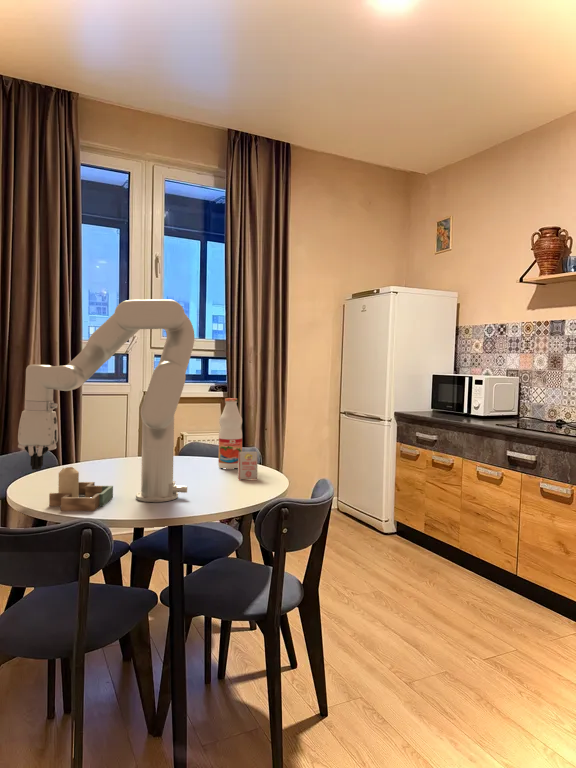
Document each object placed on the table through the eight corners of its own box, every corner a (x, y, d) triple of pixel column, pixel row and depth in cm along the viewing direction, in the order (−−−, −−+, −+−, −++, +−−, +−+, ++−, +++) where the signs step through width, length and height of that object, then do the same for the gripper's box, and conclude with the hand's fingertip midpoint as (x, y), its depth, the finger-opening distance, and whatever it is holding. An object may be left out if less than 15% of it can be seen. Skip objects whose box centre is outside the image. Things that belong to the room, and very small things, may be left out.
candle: (76, 503, 158) (76, 469, 158) (56, 503, 157) (56, 469, 157) (80, 498, 163) (80, 466, 163) (61, 499, 163) (61, 466, 162)
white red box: (237, 478, 199) (238, 451, 198) (256, 477, 200) (256, 450, 200) (238, 480, 195) (239, 452, 195) (257, 480, 196) (257, 452, 196)
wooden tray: (117, 493, 171) (117, 482, 171) (97, 510, 150) (97, 498, 150) (65, 493, 170) (65, 481, 170) (38, 510, 150) (38, 498, 149)
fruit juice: (240, 465, 224) (241, 397, 223) (242, 469, 215) (244, 399, 214) (217, 465, 223) (218, 397, 222) (218, 470, 213) (220, 399, 213)
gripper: (69, 406, 163) (66, 467, 163) (18, 404, 162) (16, 465, 163) (60, 408, 156) (57, 472, 156) (6, 406, 155) (4, 470, 155)
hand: (36, 468), depth 159 cm, fingers closed
